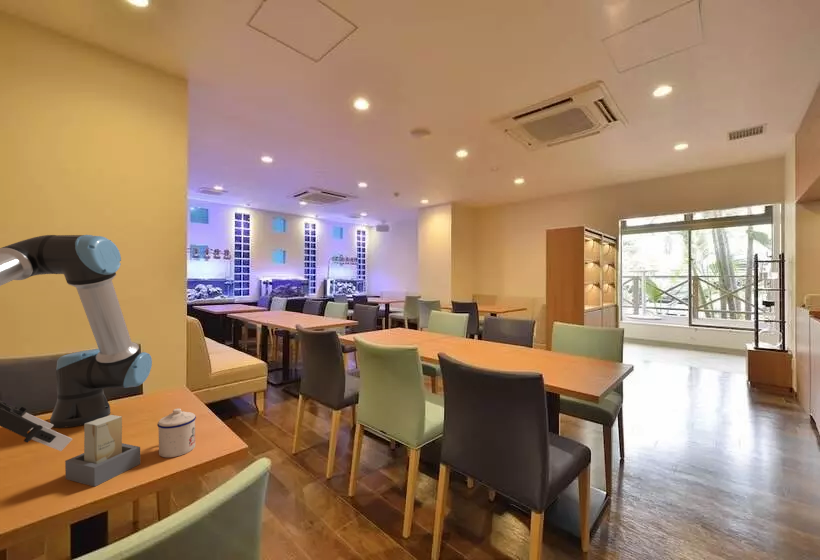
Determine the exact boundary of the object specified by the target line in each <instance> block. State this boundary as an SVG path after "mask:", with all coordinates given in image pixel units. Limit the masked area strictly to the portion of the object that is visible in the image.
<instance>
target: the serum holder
mask: <svg viewBox="0 0 820 560" xmlns="http://www.w3.org/2000/svg"><path fill="white" fill-rule="evenodd" d="M64 463H65V466H64V467H65V471H64V472H65V480H69V481H73V482H75V483H80V484H84V485H88V486H91V487H94V488H95V487H97V486H99V485H100V484H101V485H102V484H103V483H104V482H107V481H108V480H112V479H113V478H116V477H117V476H119V475H121V474H123V473H125V472H127V471H129V470H131V469H134V468H135V467H136V466H137V467H138V466H139V465H141V446H138V445H133V444H128V443H123V442H122V453H121V454H118V455H116V456H114V457H112V458H110V459H107V460H105V461H103V462H101V463H99V464H94V463H89V462H85V461H84V452H83V453H80V454H77V455H75V456H73V457H71V458H69V459H65V461H64Z"/></svg>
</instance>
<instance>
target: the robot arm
mask: <svg viewBox="0 0 820 560" xmlns="http://www.w3.org/2000/svg"><path fill="white" fill-rule="evenodd" d="M121 261H122V257H121V253H120V250H119V248H118V247H117V245H116V243H115V242H113V241H112V240H111V239H108V238H107V237H105V236H101V235H93V234H62V235H61V234H59V235H58V234H47V235H39V236H34V237H30V238H27V239H22V240H20V241H18V242H14V243H12V244H8V245H5V246H3V247H0V287H2V286H3V285H5V284H8V283H9V282H13V281H23V280H26V279H28V278H30V277H34V276H39V275H64V278H65V281H66V284H67V285H68V286H71V287H74V288H76V291H77V294H78V296H79V299H80V303H81V305H82V307H83V309H84V313H85V316H86V318H87V321H88V323H89V326H90V329H91V331H92V335H93V338H94V340H95V342H96V345H97V348H93V349H87V350H83V351H78V352H77V351H76V352H72V353H68V354H65V355H61V356H60V357H59V358H58V359H57V361H56V369H55V373H56V375H55V377H56V394H57V395H56V398H57V399H56V403H55V405H54V408H53V410H52V413H51V415H50V419H49V421H50V422H48V421H46V420H43V419H42V418H39V417H37V416H35V415H32V414H31V413H29V412H26V411H27V408H25V407H23V406H21V407H20V408H18V407H16V406H13V405H10V404H7V402H5V401H3V400H1V399H0V427H1V428H4V429H6V430H8V431H9V432H13V433H14V434H17V435H19V436H20V437H24V438H25V439H23V442H25V443H29V442H30V441H31V440H32V441H35V442H37V443H38V444H39V443H40V444H42V445H45V446H47V447H49V448H52V449H54V450H57V451H59V452H62V451H63V450H64V449H65V448H66V447H67V446H68V445H69V444H70V443H71V441H73V438H72V437H69V436H67V435H65V434H62V433H60V432H57V431H56V430H54V429H52V428H57V429H58V428H59V429H61V428H62V429H63V428H72V427H78V426H84V424H85V423H88V422H91V421H94V420H96V419H99V418H103V417H106V416H109V415H111V406H110V403H109V401H108V400H107V397H106V395H105V393H104V389H114V388H125V389H128V388H133V387H134V388H135V387H139V386H141V385H142V384H144V383H145V381H146V380H147V378H149V376H150V372H151V371H152V370H151V369H152V365H153V360H152V359H153V358H152V355H150V353H149V352H146V351H144V352H143V351H141V349H140V346H139V344H138V343H136V342H133V341H132V339H131V336H130V332H129V330H128V327H127V324H126V321H125V318H124V315H123V312H122V309H121V305H120V302H119V299H118V295H117V292H116V290H115V287H114V283H113V280H114V279H115V278H116V276H117V271H118V270H119V269H120V268H121Z"/></svg>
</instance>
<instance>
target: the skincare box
mask: <svg viewBox="0 0 820 560" xmlns="http://www.w3.org/2000/svg"><path fill="white" fill-rule="evenodd" d="M83 426H84V427H83V428H84V430H83V431H84V434H83V435H84V437H83V439H84V440H83V446H84V447H83V448H84V449H83V450H84V451H83V453H84V461H85V462H89V463H94V464H99V463H101V462H103V461H105V460H107V459H110V458H112V457H114V456H116V455H118V454H121V453H122V443H123V416H121V415H120V416H119V415H116V414H115V415H114V414H109V415H108V416H106V417H103V418H99V419H96V420H94V421H91V422H88V423H85V424H84V425H83Z"/></svg>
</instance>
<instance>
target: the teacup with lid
mask: <svg viewBox="0 0 820 560" xmlns="http://www.w3.org/2000/svg"><path fill="white" fill-rule="evenodd" d="M196 419H197V416H196V414H195V413H193V412H191V411H190V412H189V411H182V409H181V408H174V409H173V410H172V412H171V413H169V414H168V415H166V416H164V417H162V418H160V419H159V420H158V422H157V427H158V455H159V456H160V457H162V458H175V457H179V456H183V455H185V454H188V453H190V452H192V451H193V450H194V449H195V447H196Z"/></svg>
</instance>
